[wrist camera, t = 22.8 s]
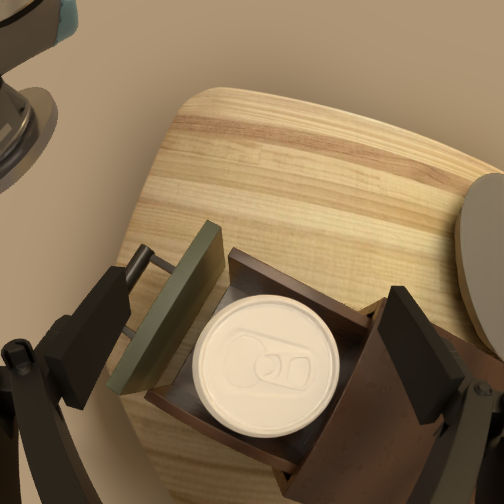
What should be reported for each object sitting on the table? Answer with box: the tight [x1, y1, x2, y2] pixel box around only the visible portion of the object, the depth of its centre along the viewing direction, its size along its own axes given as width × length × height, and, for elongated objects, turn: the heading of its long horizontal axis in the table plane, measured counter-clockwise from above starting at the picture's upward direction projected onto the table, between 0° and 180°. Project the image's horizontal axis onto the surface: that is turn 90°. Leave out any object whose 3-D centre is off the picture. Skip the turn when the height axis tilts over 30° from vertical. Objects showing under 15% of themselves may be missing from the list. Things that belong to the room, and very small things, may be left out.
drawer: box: [106, 220, 372, 474], centre depth 24 cm, size 20×14×9 cm
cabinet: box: [271, 297, 504, 504], centre depth 21 cm, size 17×15×11 cm
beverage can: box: [192, 295, 340, 438], centre depth 21 cm, size 8×8×12 cm
